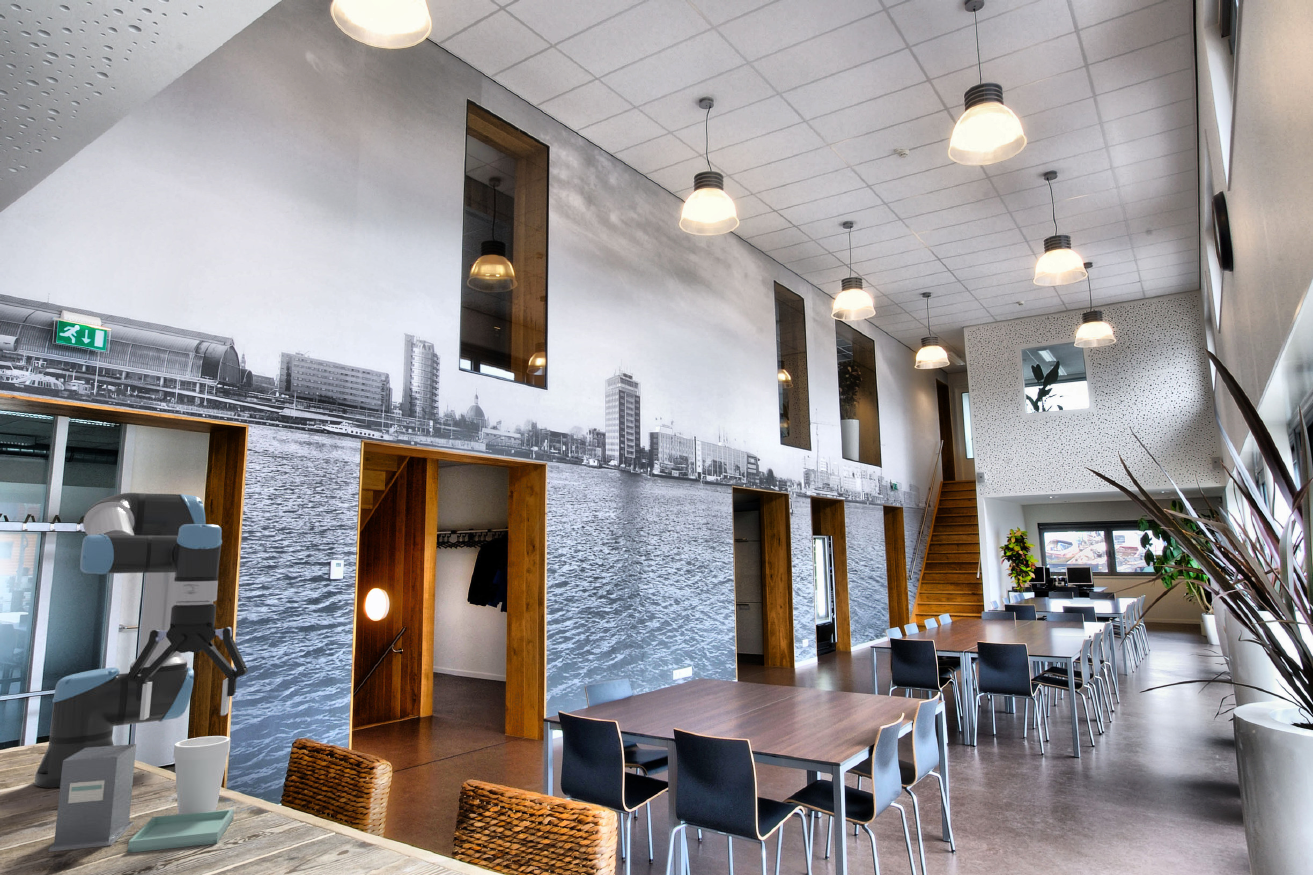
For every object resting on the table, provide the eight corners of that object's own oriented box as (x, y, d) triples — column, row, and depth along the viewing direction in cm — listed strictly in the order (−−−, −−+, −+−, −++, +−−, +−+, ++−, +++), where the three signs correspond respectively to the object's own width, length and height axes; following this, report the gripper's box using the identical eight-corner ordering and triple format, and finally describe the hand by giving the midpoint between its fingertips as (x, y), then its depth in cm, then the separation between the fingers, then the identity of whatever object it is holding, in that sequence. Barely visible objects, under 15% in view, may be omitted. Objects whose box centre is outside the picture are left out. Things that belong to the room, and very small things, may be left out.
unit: (75, 830, 139) (83, 747, 141) (132, 824, 142) (140, 743, 144) (48, 851, 129) (58, 761, 131) (111, 845, 131) (119, 756, 134)
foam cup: (157, 816, 146) (163, 744, 148) (200, 802, 155) (206, 734, 157) (193, 821, 143) (199, 748, 145) (236, 806, 152) (241, 737, 154)
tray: (152, 827, 140) (153, 816, 140) (233, 819, 144) (233, 808, 144) (127, 852, 128) (128, 841, 128) (216, 843, 132) (217, 831, 132)
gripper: (113, 605, 144) (101, 724, 141) (260, 602, 151) (252, 715, 147) (128, 603, 151) (117, 716, 148) (268, 600, 158) (260, 708, 155)
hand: (184, 716), depth 148 cm, fingers open, 13 cm apart
